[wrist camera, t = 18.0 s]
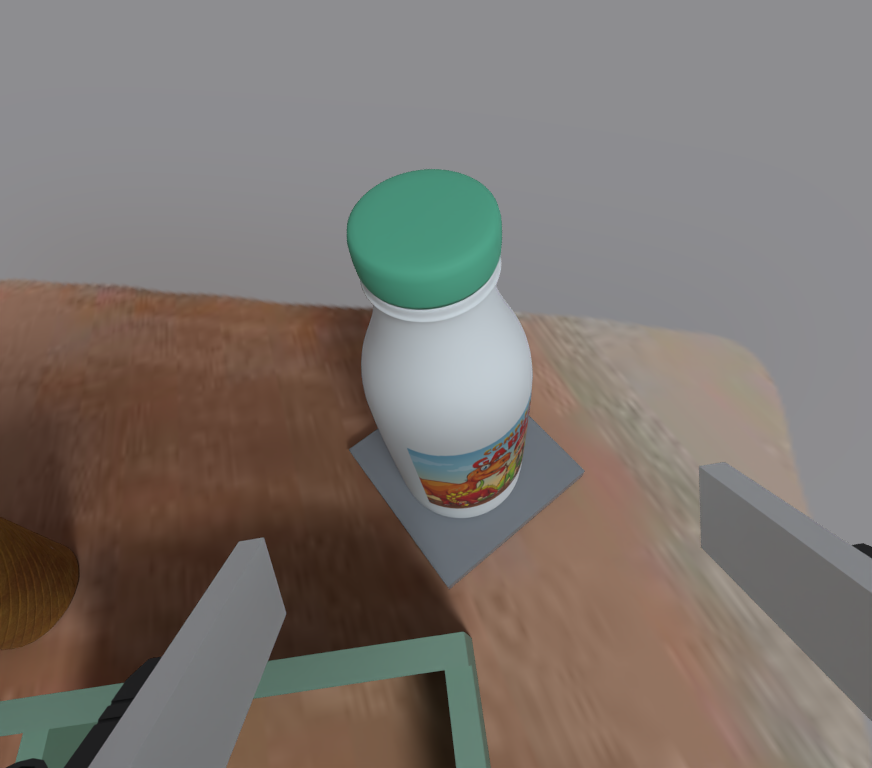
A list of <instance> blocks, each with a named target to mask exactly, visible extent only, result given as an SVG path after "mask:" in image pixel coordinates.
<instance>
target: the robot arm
mask: <svg viewBox="0 0 872 768" xmlns="http://www.w3.org/2000/svg"><path fill="white" fill-rule="evenodd" d="M699 487H700V524H701V548H702V549H703V550H704V551H705V552H706V553H707V554H708V555H709V556H710V557H711V558H712V559H713V560H714V561H715V562H716V563H717V564H718V565H719V566H720V567H721V568H722V569H723V570H724V571H725V572H726V573H727V574H728V575H729V576H730V577H731V578H732V579H733V580H734V581H735V582H736V583H737V584H738V585H739V586H740V587H741V588H742V589H743V590H744V591H745V592H746V593H747V594H748V595H749V596H750V598H751V599H752V600H753V601H754V602H755V603H756V604H757V605H758V606H759V607H760V608H761V609H762V610H763V611H764V612H765V613H766V614H767V615H768V616H769V617H770V618H771V619H772V620H773V621H774V622H775V623H776V624H777V625H778V626H779V627H780V628H781V629H782V630H783V631H784V632H785V633H786V634H787V635H788V636H789V637H790V638H791V639H792V640H793V641H794V642H795V643H796V644H797V645H798V646H799V648H800V649H801V650H802V651H803V652H804V653H805V654H806V655H807V656H808V657H809V658H810V659H811V660H812V661H813V662H814V663H815V664H816V665H817V666H818V667H819V668H820V669H821V670H822V671H823V672H824V673H825V674H826V675H827V676H828V677H829V678H830V679H831V680H832V681H833V682H834V683H835V684H836V685H837V686H838V687H839V688H840V689H841V690H842V691H843V692H844V693H845V694H846V695H847V697H848V698H849V699H850V700H851V701H852V702H853V703H854V704H855V705H856V706H857V707H858V708H859V709H860V710H861V711H862V712H863V713H864V714H865V715H866V716H867V717H868V718H869V719H870V720H871V721H872V547H871V546H869V545H866V544H864V543H863V544H856V545H850V544H849V543H847V542H845V541H844V540H843V539H841V538H840V537H838V536H837V535H835V534H834V533H832V532H830V531H829V530H827V529H826V528H824V527H823V526H821V525H820V524H818V523H817V522H815V521H814V520H812V519H811V518H809V517H808V516H806V515H805V514H803V513H802V512H800V511H799V510H797V509H795V508H794V507H792V506H791V505H789V504H788V503H786V502H785V501H783V500H782V499H780V498H779V497H777V496H776V495H774V494H773V493H771V492H770V491H768V490H767V489H765V488H764V487H762V486H761V485H759V484H757V483H756V482H754V481H753V480H751V479H750V478H748V477H747V476H745V475H744V474H742V473H741V472H739V471H738V470H736V469H735V468H733V467H732V466H730V465H729V464H727V463H726V462H722V463H716V464H710V465H704V466H699ZM285 616H286V611H285V607H284V604H283V600H282V597H281V594H280V590H279V587H278V583H277V580H276V577H275V573H274V570H273V566H272V563H271V560H270V556H269V553H268V550H267V546H266V543H265V539H264V538H257V539H251V540H245V541H239V542H238V544H237V545H236V547H235V548H234V550H233V551H232V553H231V554H230V556H229V557H228V559H227V560H226V562H225V563H224V565H223V566H222V568H221V569H220V571H219V572H218V574H217V575H216V577H215V578H214V580H213V581H212V583H211V584H210V586H209V587H208V589H207V590H206V592H205V593H204V595H203V596H202V598H201V599H200V601H199V602H198V604H197V605H196V607H195V608H194V610H193V611H192V613H191V614H190V616H189V617H188V619H187V620H186V622H185V623H184V625H183V626H182V628H181V629H180V631H179V632H178V634H177V635H176V637H175V638H174V640H173V641H172V643H171V644H170V646H169V647H168V649H167V650H166V652H165V653H164V655H163V656H162V657H158V658H151V659H148V660H147V661H146V662H145V663H144V664H143V665H142V666H141V667H140V668H139V669H138V670H136V671H135V672H134V673H133V674H132V675H131V676H130V677H129V678H128V679H127V680H126V681H125V683H124V684H123V685H122V687H121V688H120V690H119V691H118V692H117V694H116V695H115V697H114V698H113V699H112V701H111V705H109V706H107V708H106V709H105V711H104V712H103V713H102V715H101V716H100V718H99V719H98V723H97V724H96V725H94V726H93V727H92V729H91V730H90V732H89V733H88V734H87V736H86V737H85V739H84V740H83V741H82V743H81V744H80V746H79V747H78V748H77V750H76V751H75V752H74V754H73V755H72V757H71V758H70V759H69V761H68V762H67V764H66V765H65V766H64V768H226V766H227V763H228V761H229V758H230V756H231V753H232V751H233V748H234V746H235V743H236V741H237V738H238V735H239V733H240V730H241V728H242V725H243V723H244V720H245V718H246V715H247V713H248V710H249V708H250V705H251V702H252V700H253V697H254V695H255V692H256V690H257V687H258V685H259V682H260V680H261V677H262V674H263V672H264V669H265V667H266V664H267V662H268V659H269V657H270V654H271V652H272V649H273V647H274V644H275V641H276V639H277V636H278V634H279V631H280V629H281V626H282V624H283V621H284V619H285ZM6 768H48V767H47V765H46V763H45V761H44V760H41V759H36V758H31V759H27V760H23V761H19V762H16V763H14V764H12V765H10V766H8V767H6Z"/></svg>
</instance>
